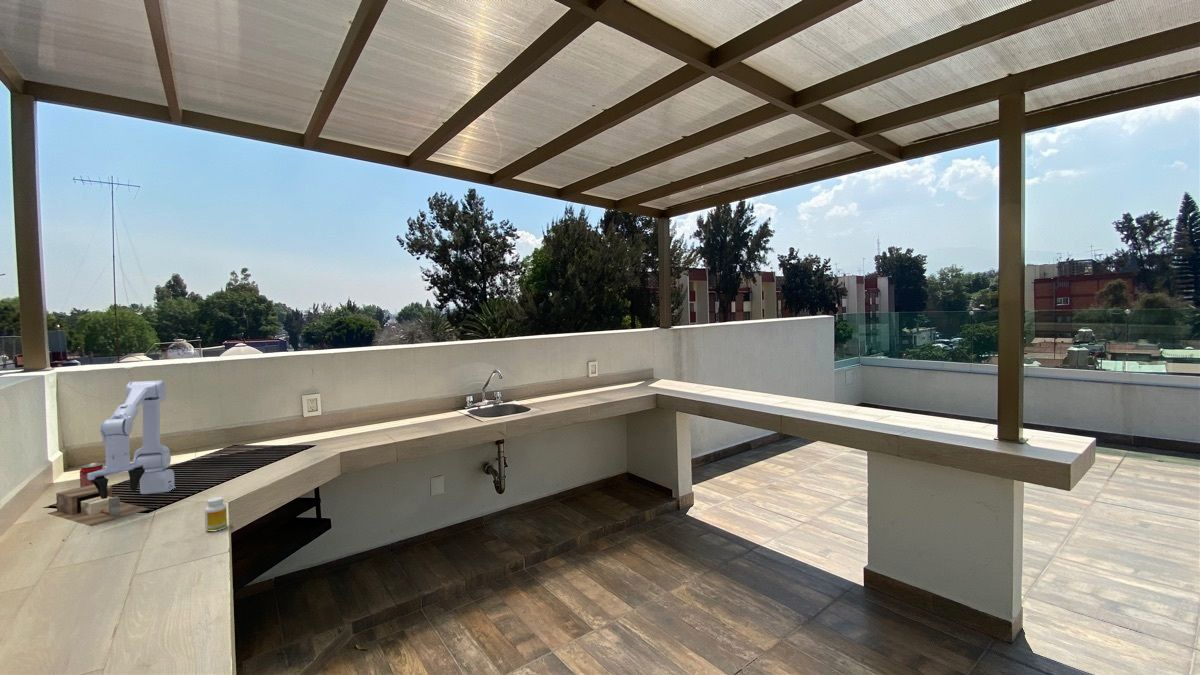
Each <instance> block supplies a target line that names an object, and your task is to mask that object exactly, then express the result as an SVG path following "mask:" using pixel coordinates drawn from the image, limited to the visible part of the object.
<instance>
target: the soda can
mask: <svg viewBox="0 0 1200 675" xmlns="http://www.w3.org/2000/svg"><path fill="white" fill-rule="evenodd" d="M105 468H106V465H104V462H92V463H87V464H84V465H82V466H81V469H80V470H79V488H80V487H84V486H88V485H92V484H93V483H92V482H91V480H89V479H87V473H91V472H95V471H98V470H102V469H105ZM104 477H106V478H107V476H104Z"/></svg>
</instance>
